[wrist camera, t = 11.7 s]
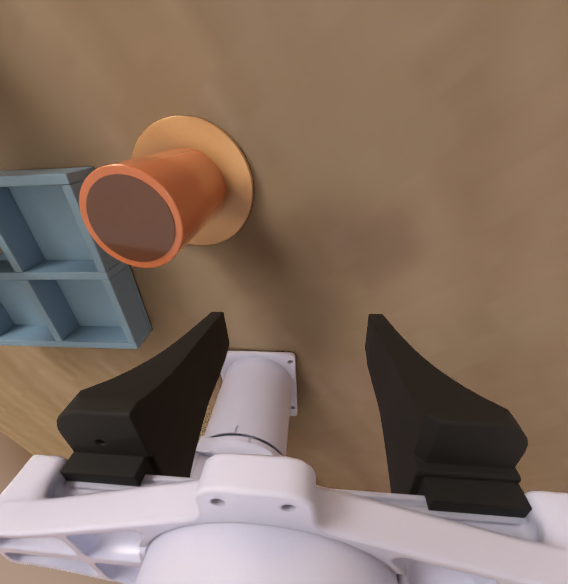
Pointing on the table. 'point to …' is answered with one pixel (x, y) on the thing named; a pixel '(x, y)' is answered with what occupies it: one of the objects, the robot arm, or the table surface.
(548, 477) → the table surface
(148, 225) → the tumbler
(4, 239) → the rack
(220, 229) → the coaster
